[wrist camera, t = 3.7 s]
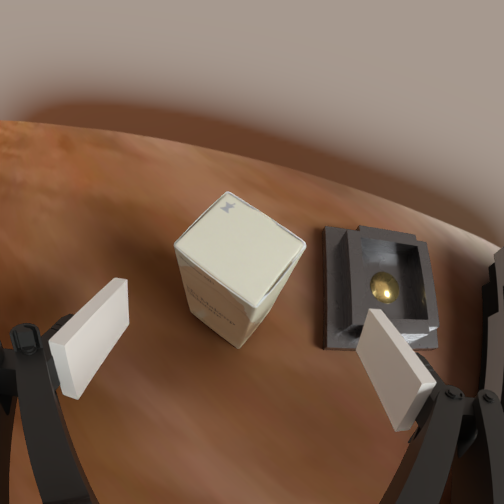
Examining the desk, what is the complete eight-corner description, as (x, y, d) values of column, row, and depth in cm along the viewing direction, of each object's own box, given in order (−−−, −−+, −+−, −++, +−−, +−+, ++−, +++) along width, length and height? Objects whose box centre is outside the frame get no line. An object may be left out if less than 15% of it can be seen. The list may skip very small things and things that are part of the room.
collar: (323, 349, 23) (335, 342, 20) (322, 231, 28) (331, 213, 25) (431, 350, 23) (451, 342, 21) (418, 246, 29) (433, 231, 26)
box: (188, 311, 23) (165, 240, 14) (222, 272, 25) (224, 184, 16) (241, 352, 22) (257, 310, 13) (274, 310, 24) (310, 241, 14)
